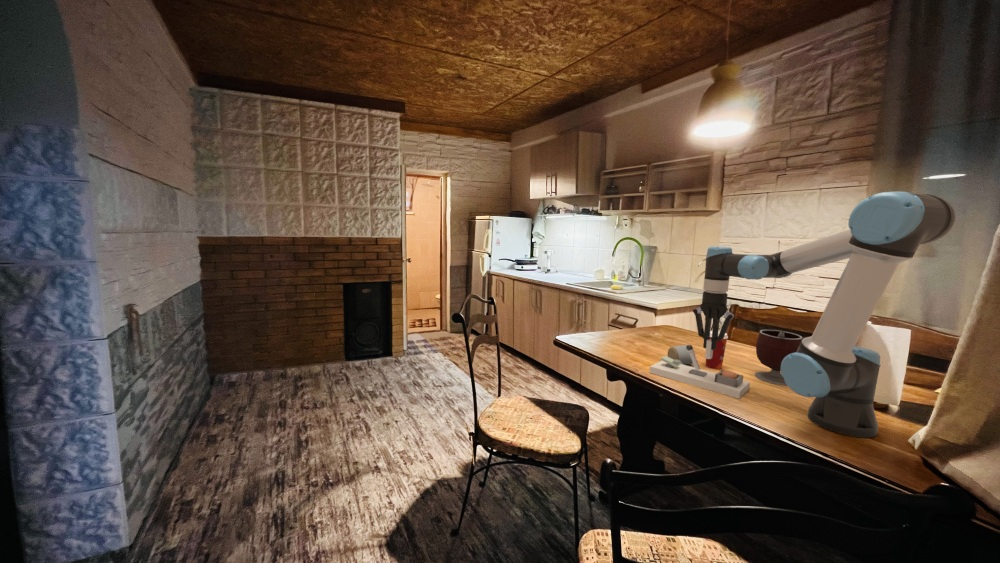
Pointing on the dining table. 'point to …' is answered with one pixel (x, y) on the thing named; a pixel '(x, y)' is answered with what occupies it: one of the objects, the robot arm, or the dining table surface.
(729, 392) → the panel
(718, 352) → the paper cup
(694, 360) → the metal lever
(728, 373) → the terracotta button
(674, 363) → the green rocker
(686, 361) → the ceramic mug
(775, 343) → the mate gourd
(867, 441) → the dining table surface
